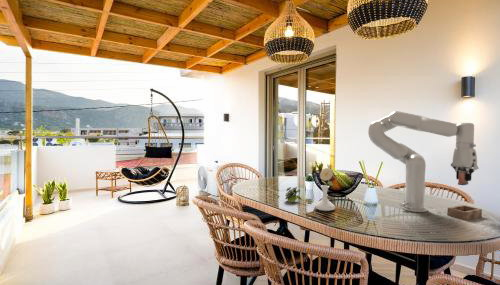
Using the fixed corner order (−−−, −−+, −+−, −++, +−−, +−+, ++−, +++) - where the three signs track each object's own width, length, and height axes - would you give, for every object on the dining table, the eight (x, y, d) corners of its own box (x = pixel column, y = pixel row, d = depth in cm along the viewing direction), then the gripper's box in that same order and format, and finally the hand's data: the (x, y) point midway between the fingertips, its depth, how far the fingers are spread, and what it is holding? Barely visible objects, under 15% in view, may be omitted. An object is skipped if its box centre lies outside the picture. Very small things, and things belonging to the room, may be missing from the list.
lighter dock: (465, 220, 143) (465, 212, 143) (447, 215, 152) (447, 207, 151) (481, 216, 148) (481, 209, 148) (463, 212, 157) (463, 205, 156)
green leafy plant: (288, 208, 185) (289, 191, 191) (304, 207, 180) (305, 190, 186) (281, 202, 177) (283, 184, 184) (297, 201, 172) (298, 183, 178)
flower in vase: (311, 208, 167) (311, 166, 165) (327, 206, 170) (327, 165, 169) (323, 214, 154) (324, 169, 153) (341, 212, 158) (341, 168, 157)
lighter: (463, 185, 147) (464, 166, 146) (456, 184, 150) (457, 165, 149) (469, 183, 152) (470, 165, 151) (462, 182, 154) (463, 164, 154)
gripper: (486, 146, 143) (485, 182, 144) (454, 145, 159) (453, 177, 160) (476, 147, 141) (474, 183, 142) (444, 145, 157) (443, 177, 158)
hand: (463, 179), depth 151 cm, fingers closed on lighter, 4 cm apart
